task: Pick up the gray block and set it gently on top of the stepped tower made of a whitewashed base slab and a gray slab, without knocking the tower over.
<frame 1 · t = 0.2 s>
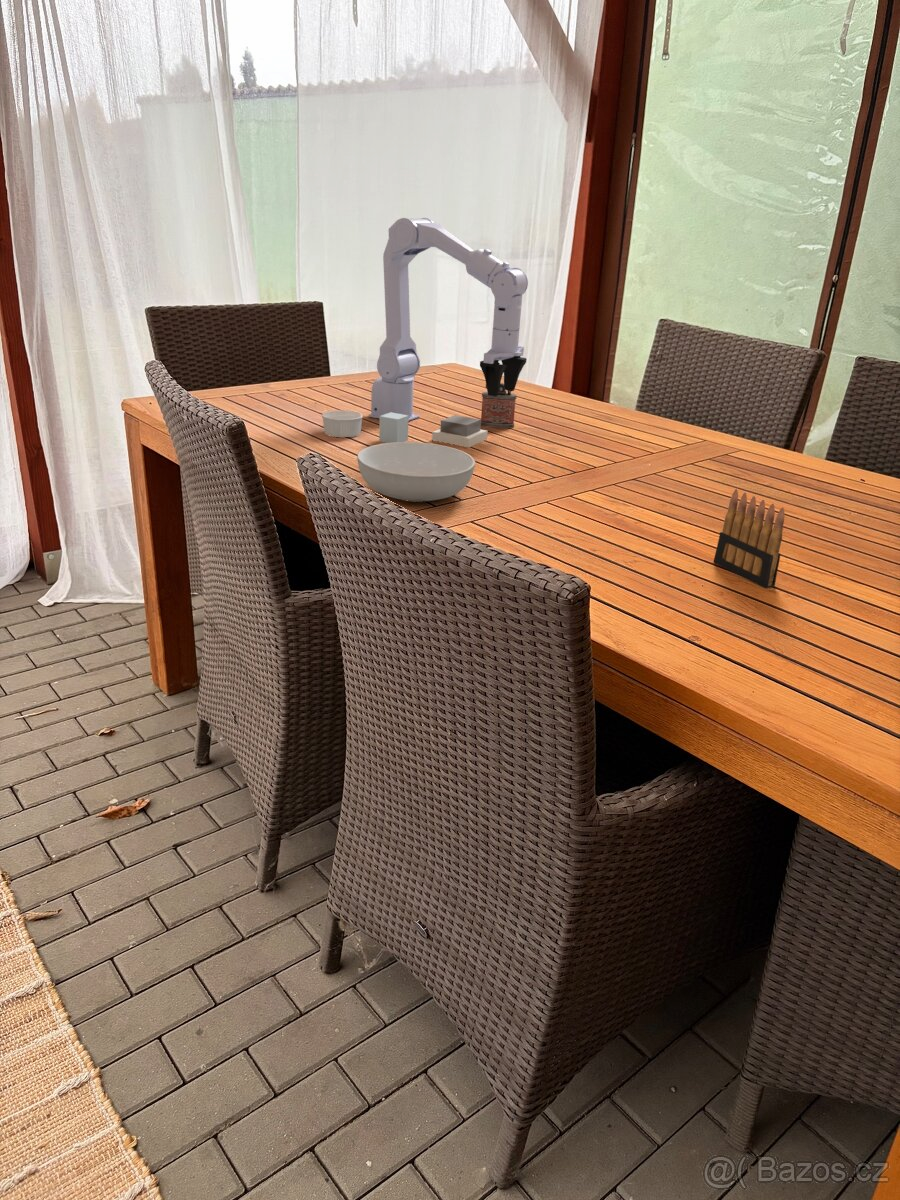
hand: (501, 393, 195), 10 cm above the table, tool pointing down, fingers open, 7 cm apart
ammunition clip: (742, 575, 134), on the table
gray block: (393, 440, 192), on the table
ramekin: (342, 434, 196), on the table
gray slab: (460, 431, 195), point 2 cm above the table, touching base slab
base slab: (459, 442, 196), on the table, touching gray slab
serving bowl: (415, 495, 160), on the table
lighter: (496, 426, 210), on the table
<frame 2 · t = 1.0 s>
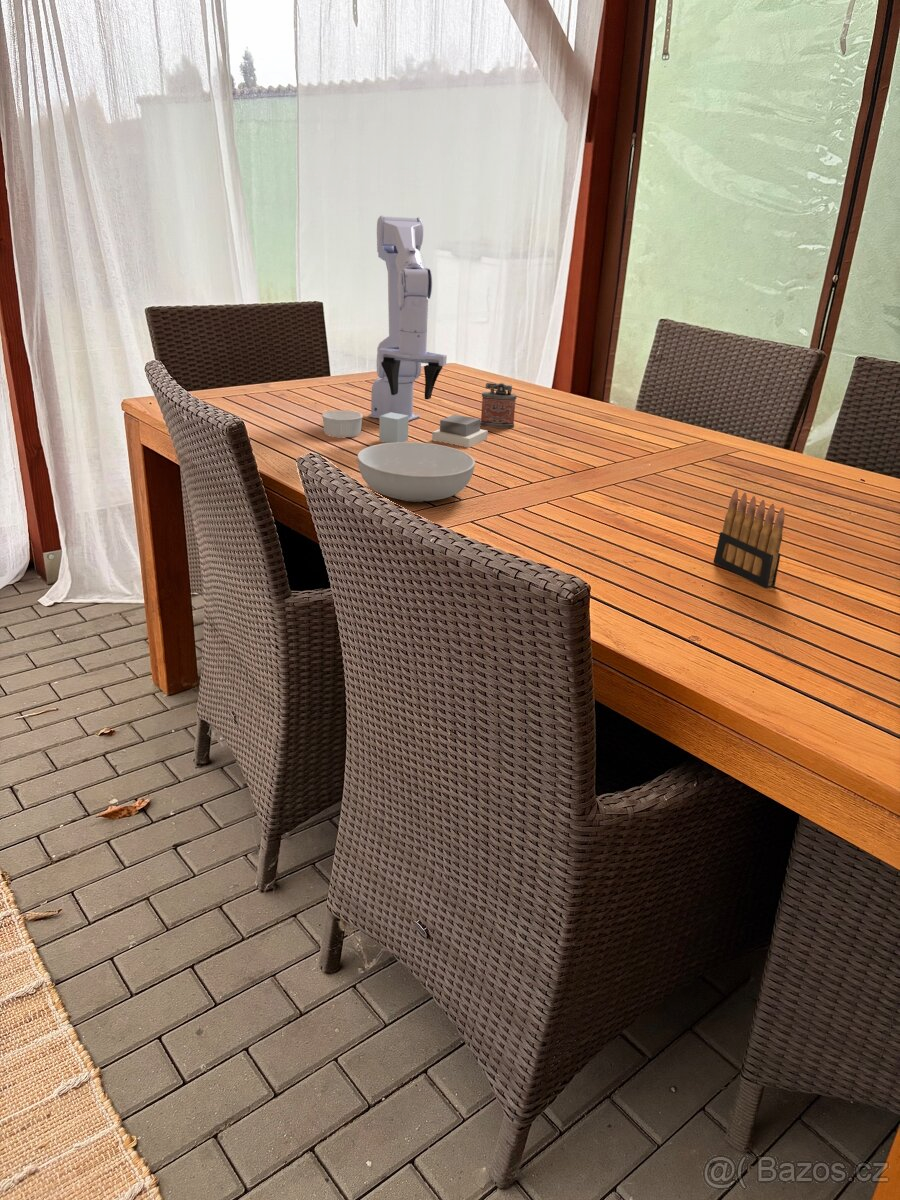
hand: (411, 396, 189), 10 cm above the table, tool pointing down, fingers open, 7 cm apart
nothing on the table moved.
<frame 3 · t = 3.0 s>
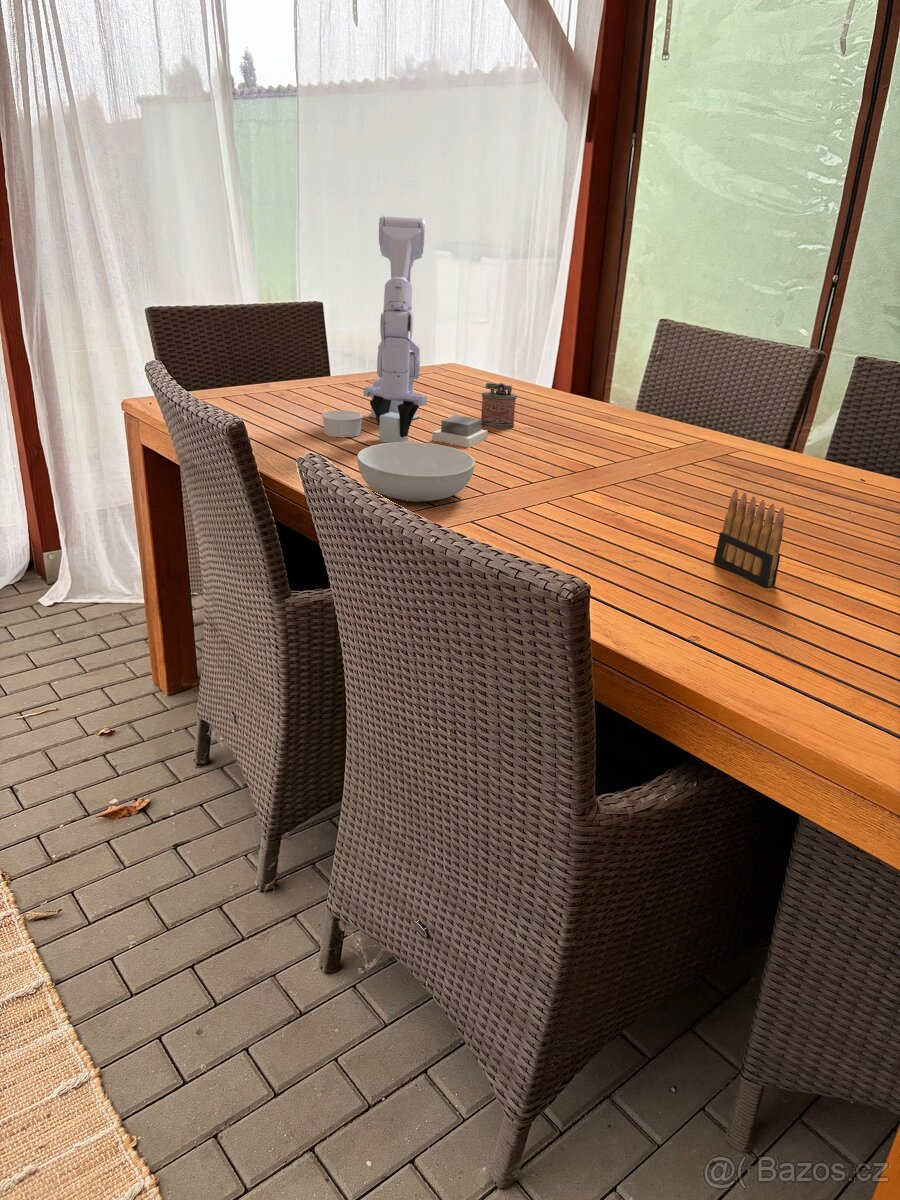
hand: (393, 434, 192), 1 cm above the table, tool pointing down, fingers closed on gray block, 4 cm apart
gray block: (393, 440, 192), on the table, touching gripper
gray slab: (461, 431, 195), point 2 cm above the table
base slab: (459, 442, 196), on the table
everything else where it was.
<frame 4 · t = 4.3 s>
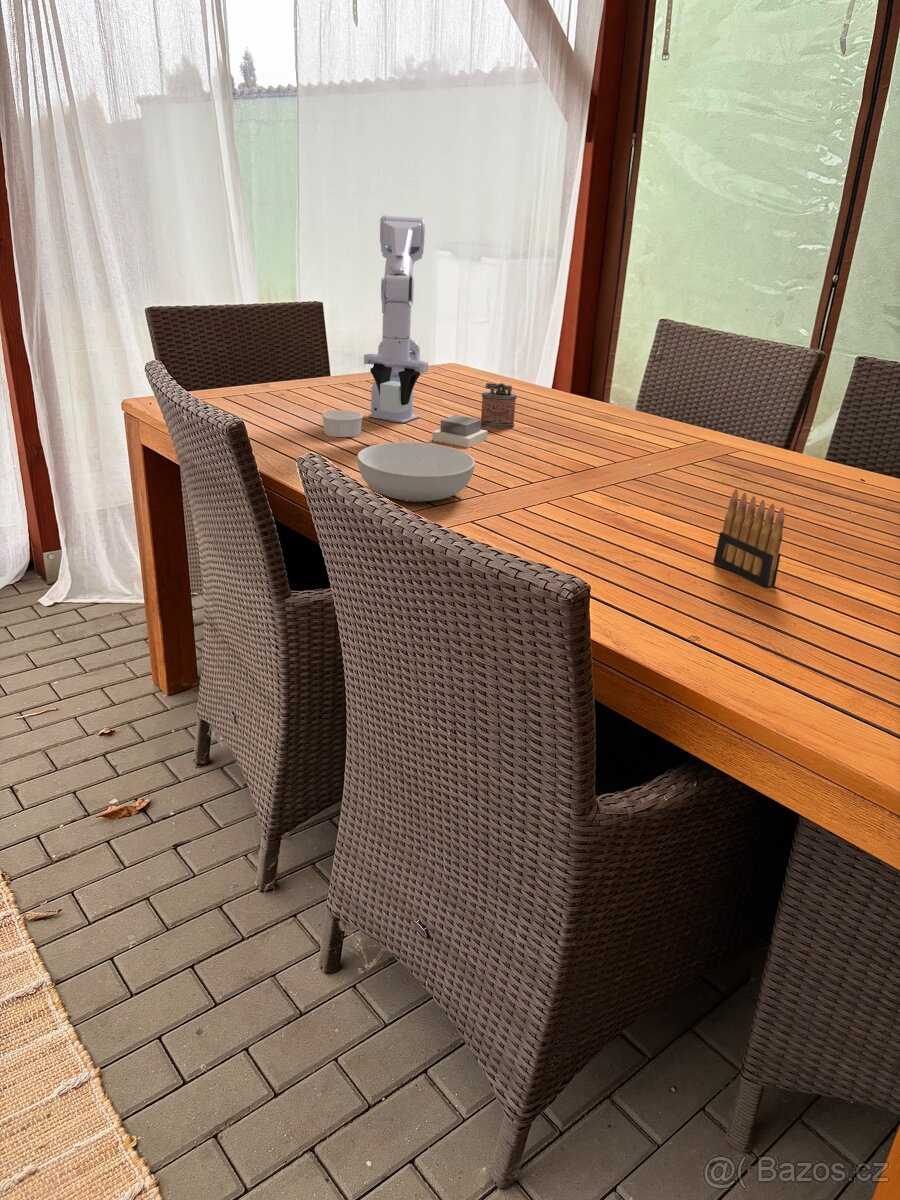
hand: (394, 402, 189), 8 cm above the table, tool pointing down, fingers closed on gray block, 4 cm apart
gray block: (394, 409, 190), point 7 cm above the table, touching gripper
gray slab: (460, 431, 195), point 2 cm above the table, touching base slab
base slab: (459, 442, 196), on the table, touching gray slab
everything else where it was.
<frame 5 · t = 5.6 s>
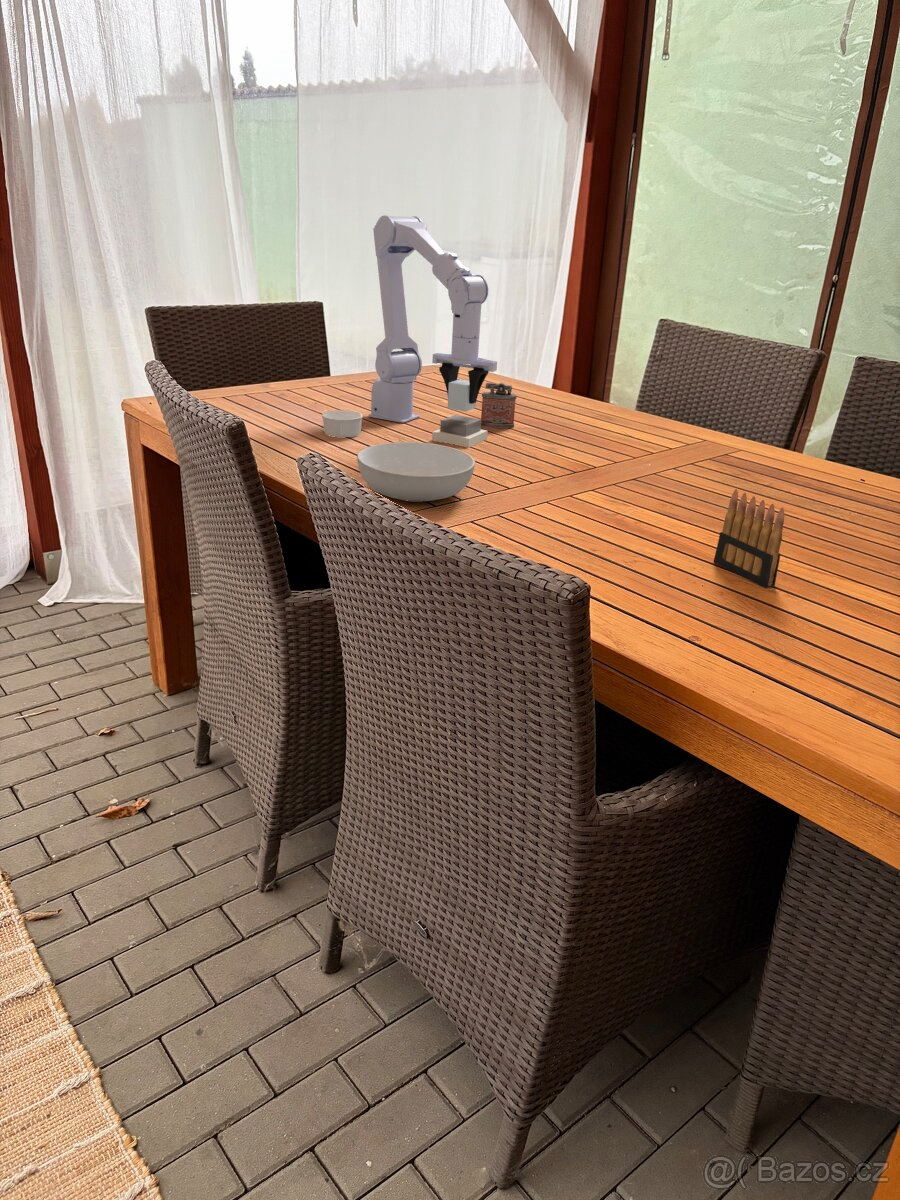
hand: (462, 401, 192), 9 cm above the table, tool pointing down, fingers closed on gray block, 4 cm apart
gray block: (461, 408, 193), point 7 cm above the table, touching gripper
everything else where it was.
when the fingers open (8 cm above the table, at t = 6.6 s): gray block drops 2 cm, resting on gray slab.
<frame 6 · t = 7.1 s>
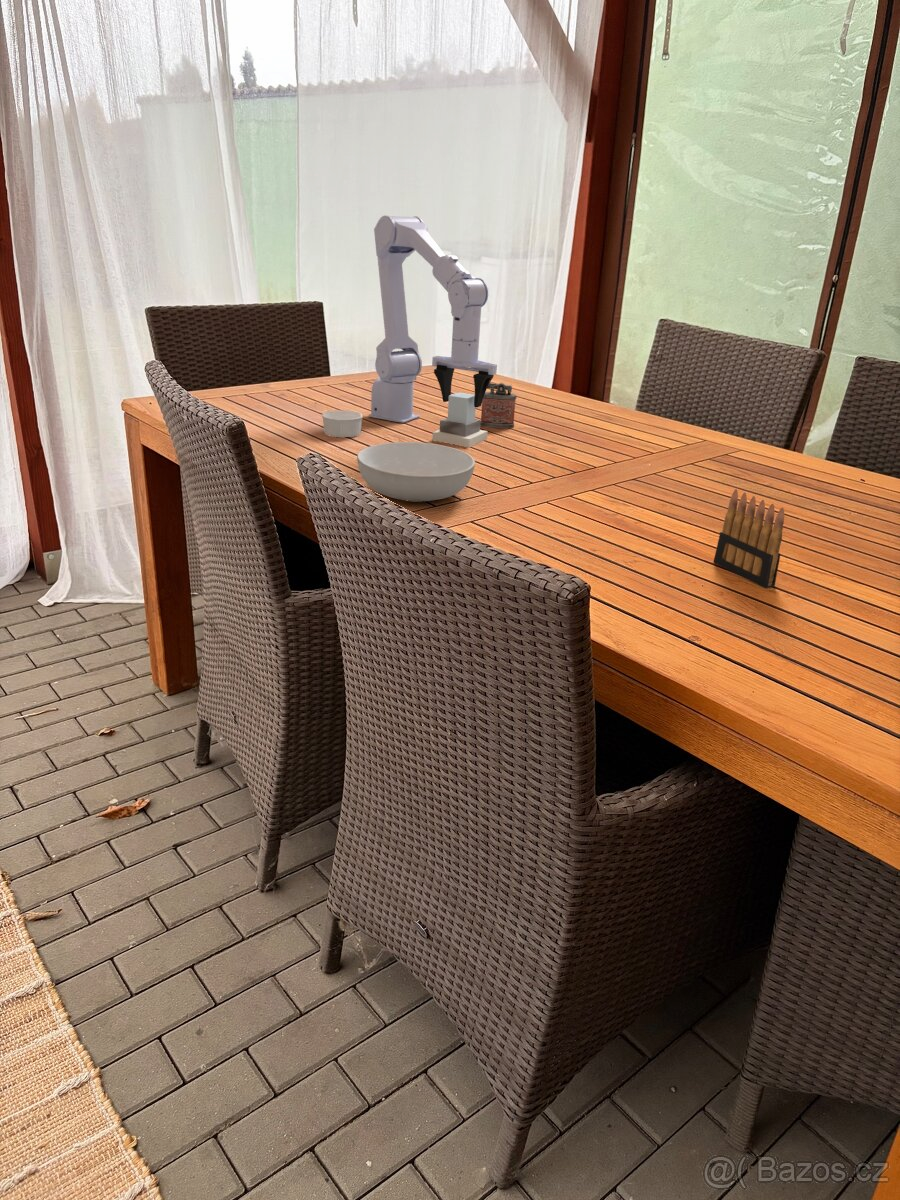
hand: (461, 403, 193), 8 cm above the table, tool pointing down, fingers open, 7 cm apart
gray block: (461, 420, 194), point 4 cm above the table, touching gray slab
gray slab: (459, 431, 196), point 2 cm above the table, touching base slab, gray block
everything else where it was.
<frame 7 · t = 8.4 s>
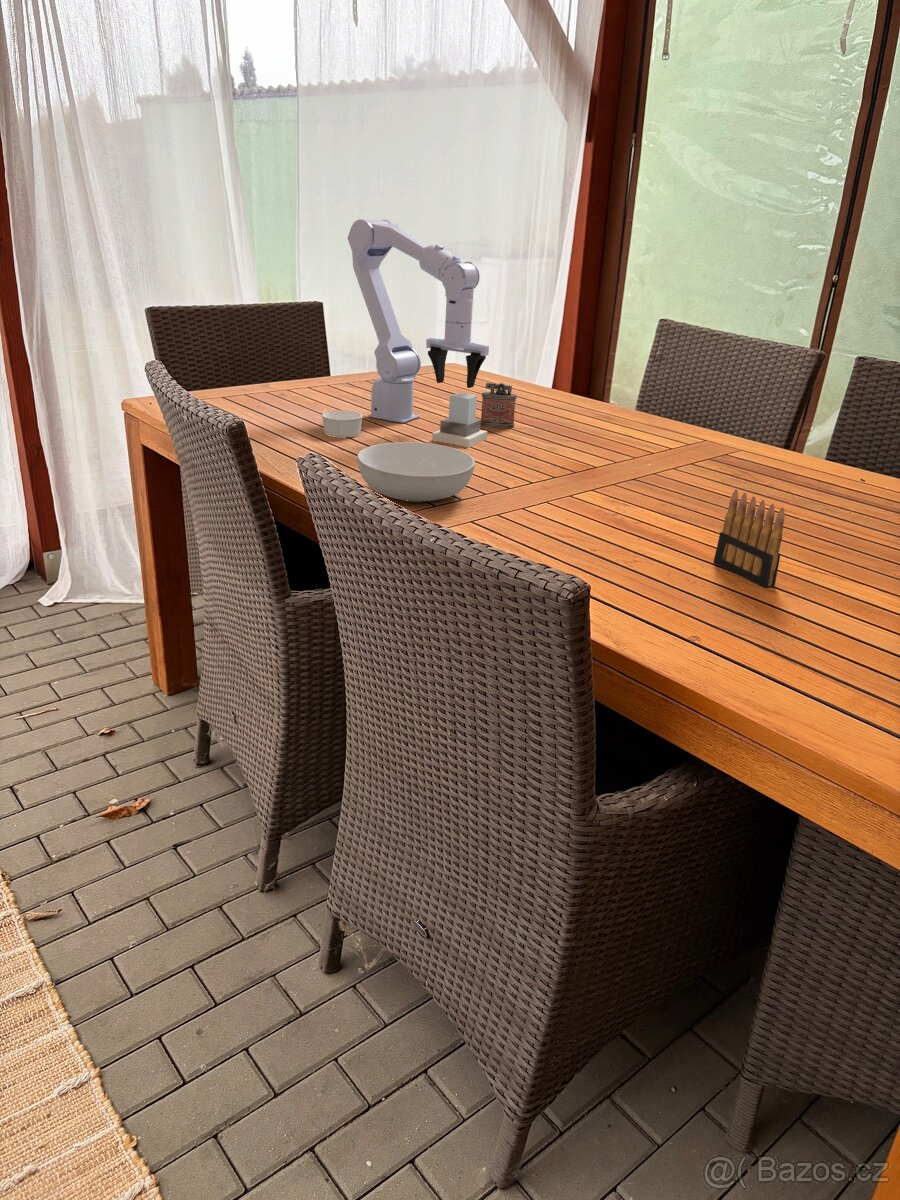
hand: (455, 384, 199), 10 cm above the table, tool pointing down, fingers open, 7 cm apart
nothing on the table moved.
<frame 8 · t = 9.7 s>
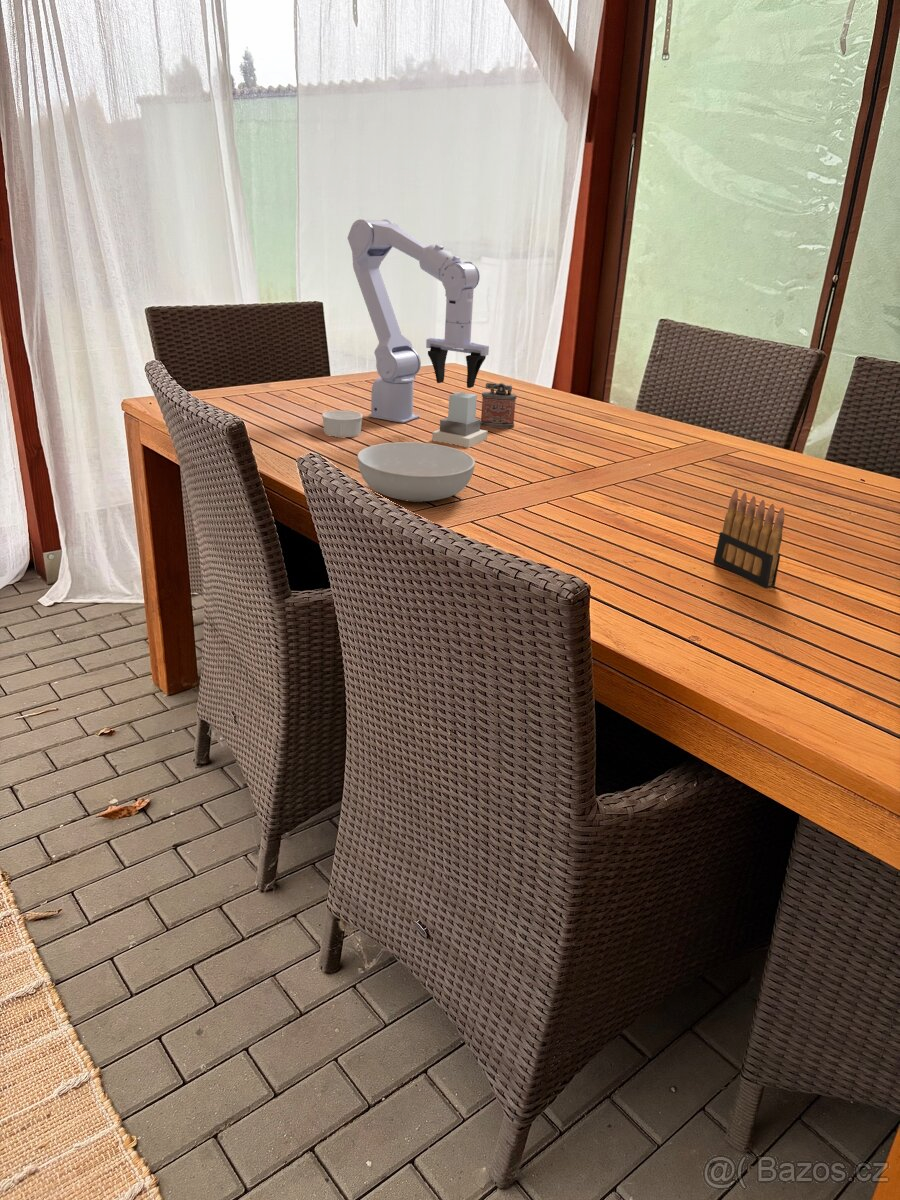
hand: (455, 384, 199), 10 cm above the table, tool pointing down, fingers open, 7 cm apart
nothing on the table moved.
at the end: gray block 0.6 cm off-centre on the gray slab, point 2.5 cm above the gray slab's base; gray slab 0.5 cm off-centre on the base slab, point 2.5 cm above the base slab's base; gray block tilted 0° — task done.
